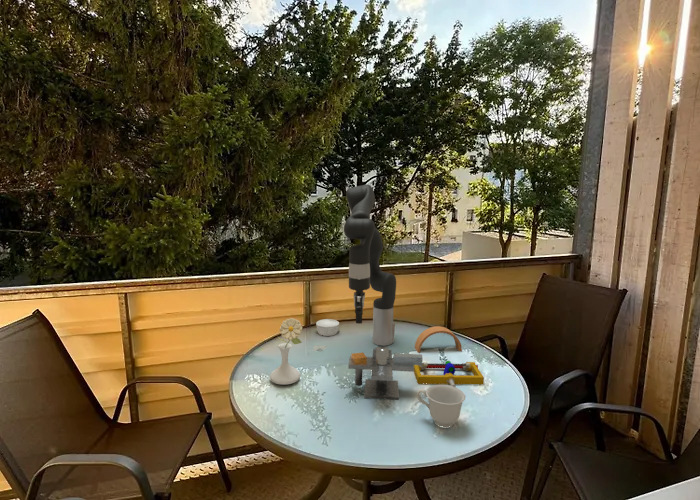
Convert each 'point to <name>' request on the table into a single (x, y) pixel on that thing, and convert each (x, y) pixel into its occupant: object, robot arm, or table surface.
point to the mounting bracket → (316, 348)
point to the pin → (358, 359)
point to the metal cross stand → (385, 372)
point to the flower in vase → (285, 371)
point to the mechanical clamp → (449, 374)
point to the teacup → (443, 403)
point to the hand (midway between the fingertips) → (359, 318)
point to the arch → (434, 330)
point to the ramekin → (327, 327)
